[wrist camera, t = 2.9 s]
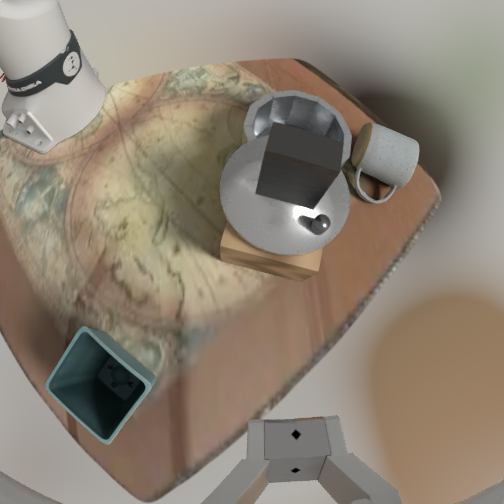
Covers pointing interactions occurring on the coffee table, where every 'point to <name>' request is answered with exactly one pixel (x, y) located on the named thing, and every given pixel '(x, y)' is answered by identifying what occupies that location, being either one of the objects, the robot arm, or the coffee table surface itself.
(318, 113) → the pot
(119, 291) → the coffee table surface
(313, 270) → the tan block
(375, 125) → the ceramic mug
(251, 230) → the lid
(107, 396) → the flower pot
